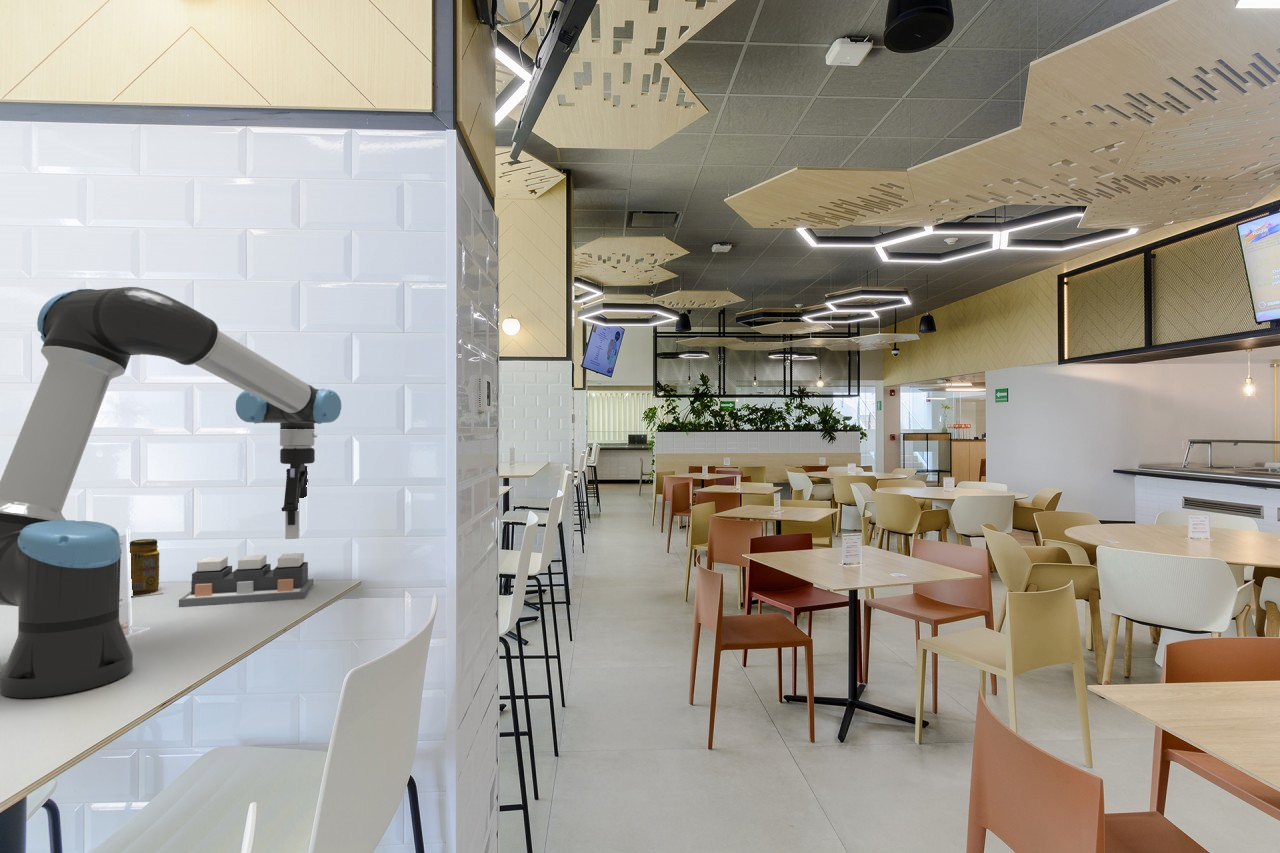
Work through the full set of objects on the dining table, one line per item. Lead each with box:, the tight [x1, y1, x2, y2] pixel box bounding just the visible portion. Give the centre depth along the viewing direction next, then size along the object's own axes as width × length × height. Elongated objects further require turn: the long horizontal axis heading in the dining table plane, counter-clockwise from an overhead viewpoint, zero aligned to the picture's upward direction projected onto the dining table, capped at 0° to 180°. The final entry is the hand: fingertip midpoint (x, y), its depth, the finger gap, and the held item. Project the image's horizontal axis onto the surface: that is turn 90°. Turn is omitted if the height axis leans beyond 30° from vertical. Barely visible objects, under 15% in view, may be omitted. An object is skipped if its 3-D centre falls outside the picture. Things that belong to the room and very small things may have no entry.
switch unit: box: [178, 561, 314, 608], centre depth 153 cm, size 24×14×6 cm, turn 108°
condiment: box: [129, 538, 164, 598], centre depth 155 cm, size 7×8×12 cm
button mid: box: [237, 554, 267, 569], centre depth 154 cm, size 4×6×2 cm
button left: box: [196, 556, 229, 571], centre depth 152 cm, size 4×6×2 cm
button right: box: [277, 552, 305, 567], centre depth 157 cm, size 4×6×2 cm
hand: (297, 534), depth 164 cm, fingers open, 13 cm apart
